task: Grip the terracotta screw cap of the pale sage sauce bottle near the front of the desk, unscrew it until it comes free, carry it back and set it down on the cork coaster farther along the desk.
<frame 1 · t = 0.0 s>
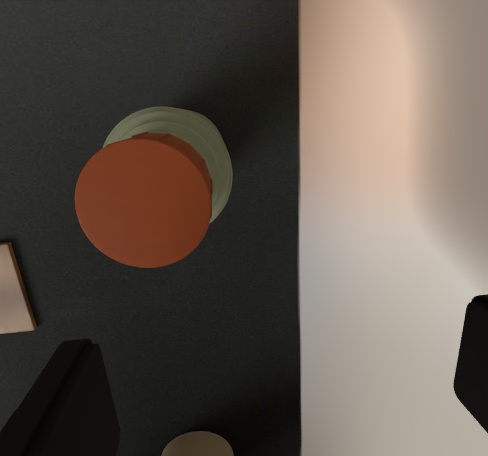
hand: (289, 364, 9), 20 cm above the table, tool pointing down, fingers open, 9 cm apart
sauce bottle: (185, 151, 26), on the table
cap: (146, 204, 11), point 16 cm above the table, screwed on, not yet turned
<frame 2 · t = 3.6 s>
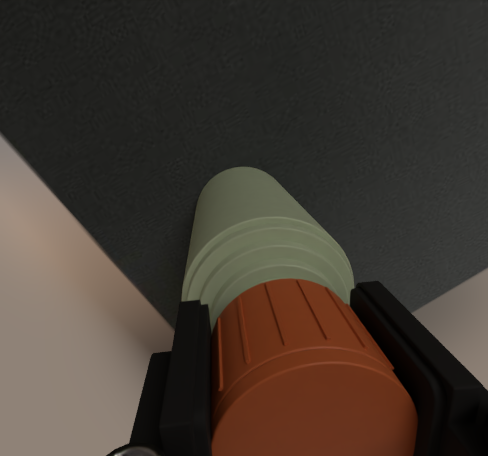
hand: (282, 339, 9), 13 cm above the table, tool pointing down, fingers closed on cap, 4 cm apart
sauce bottle: (242, 212, 22), on the table
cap: (311, 432, 7), point 16 cm above the table, screwed on, not yet turned, touching gripper
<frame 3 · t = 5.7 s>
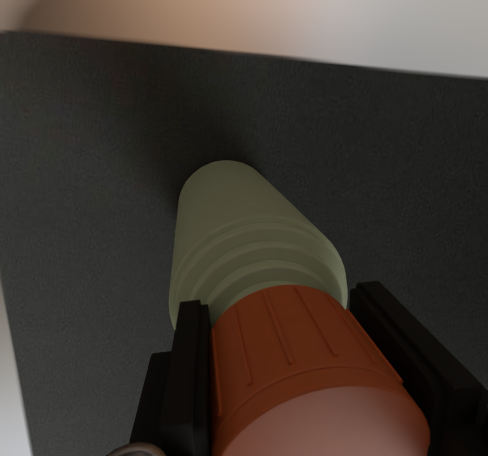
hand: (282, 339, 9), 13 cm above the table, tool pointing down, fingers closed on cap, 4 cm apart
sauce bottle: (226, 207, 21), on the table, touching gripper
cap: (317, 452, 6), point 16 cm above the table, turned 128° so far, risen 0.1 cm, still on its thread, touching gripper
when the fingers open (13 cm above the table, at t = 9.8 s): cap stays where it is, point 16 cm above the table.
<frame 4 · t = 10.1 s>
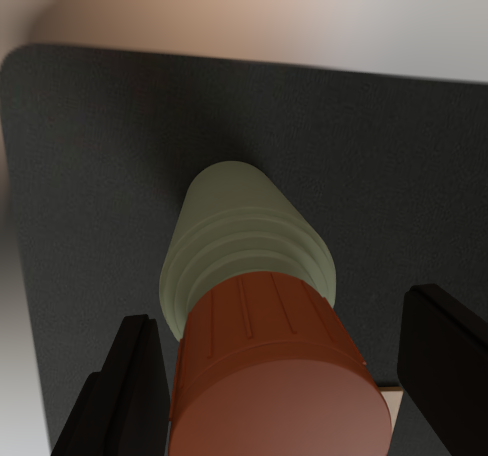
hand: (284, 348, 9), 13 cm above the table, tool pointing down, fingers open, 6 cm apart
coaster: (346, 424, 29), on the table
sauce bottle: (231, 207, 22), on the table
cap: (278, 431, 6), point 16 cm above the table, turned 128° so far, risen 0.1 cm, still on its thread
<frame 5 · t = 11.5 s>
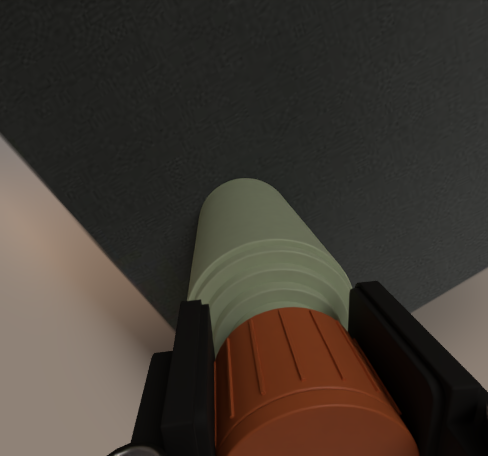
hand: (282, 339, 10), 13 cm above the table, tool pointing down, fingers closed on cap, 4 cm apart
sauce bottle: (244, 223, 22), on the table
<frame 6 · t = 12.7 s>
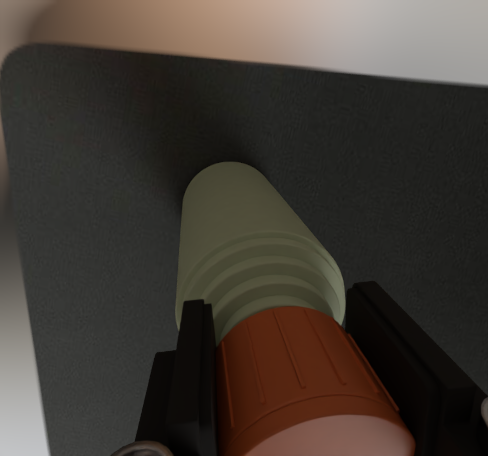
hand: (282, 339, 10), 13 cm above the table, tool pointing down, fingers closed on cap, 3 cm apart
sauce bottle: (229, 207, 22), on the table
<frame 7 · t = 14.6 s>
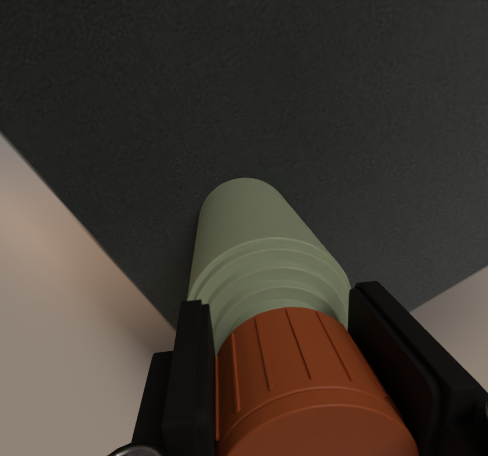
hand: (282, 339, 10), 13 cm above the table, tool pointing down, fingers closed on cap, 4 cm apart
sauce bottle: (244, 222, 22), on the table
when the fingers open (3 cm above the table, at t = 23.9 s): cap drops 2 cm, resting on coaster.
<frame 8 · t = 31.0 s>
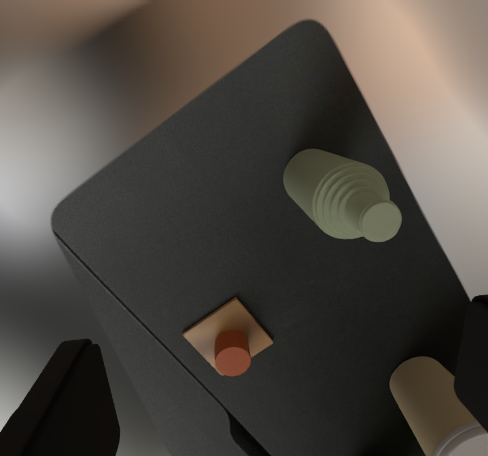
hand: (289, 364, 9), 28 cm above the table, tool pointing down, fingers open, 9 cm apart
coaster: (228, 336, 42), on the table
sauce bottle: (310, 177, 36), on the table
coffee cup: (415, 377, 47), on the table
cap: (232, 359, 39), point 3 cm above the table, off its thread, touching coaster
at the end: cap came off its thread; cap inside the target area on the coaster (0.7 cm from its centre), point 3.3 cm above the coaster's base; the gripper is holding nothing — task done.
